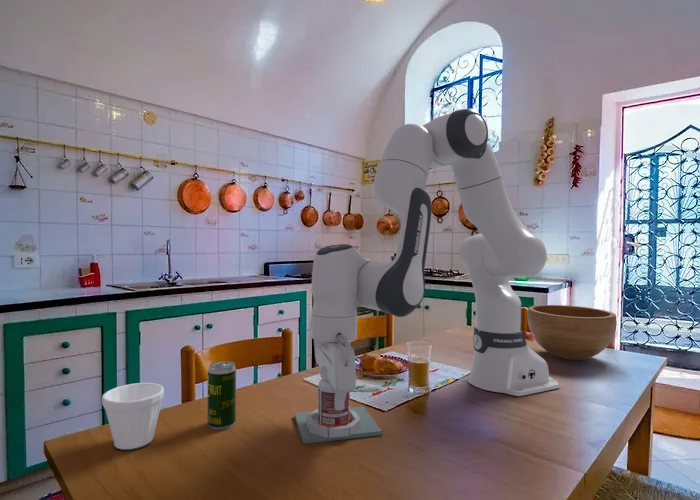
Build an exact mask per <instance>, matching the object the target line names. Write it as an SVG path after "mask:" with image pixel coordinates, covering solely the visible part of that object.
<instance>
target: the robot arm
mask: <svg viewBox="0 0 700 500" xmlns="http://www.w3.org/2000/svg"><path fill="white" fill-rule="evenodd" d="M488 139H489V128H488V124H487V121H486V119H485V118H484V117H483V115H481V114H480V113H479V112H478V111H477V110H475V109H473V108H461V109H458V110H454V111H453V112H451V113H447V114H443V115H440V116H438V117H436V118H433V119H432V120H431V121H428V122H427V123H425V124H423V125H419V124H415V123H407V124H402V125H400V126H399V127H397V128H396V129H395V131H393V134H392V135H391V137H390V139H389V141H388V143H387V145H386V146H385V148H384V151H383V153H382V156H381V158H380V161H379V164H378V166H377V170H376V173H375V176H374V181H373V192H374V194H375V196H376V198H377V200H378V201H379V202H380V203H381V204H382V205H383V206H384V207H385V208H387V209H388V210H390V211H392V212H393V213H395V214H397V215H399V216H400V218H401V226H400V232H399V238H398V243H397V244H398V245H397V251H396V255H395V258H394V259H393V260H391V261H390V262H385V261H384V262H381V261H375V260H374V261H373V260H371V259H369V258H367V257H365V256H363V255H362V254H360V253H359V252H358V251H357V250H356V249H355V246H354V245H350V244H348V243H347V244H346V243H343V244H341V243H339V244H332V245H331V244H330V245H326V246H323V247H320V249H318V250H317V252H316V253H315V254H314V255H315V256H314V257H313V258H314V259H313V264H312V273H311V294H312V297H313V298H312V299H313V305H312V309H311V312H310V313H311V317H310V319H311V320H310V332H311V333H310V337H311V339H312V340H313V346H314V357H315V361H316V363H317V365H318V366H319V368H320V369H321V367H322V366H323V367H324V369H325V370H326V377H327V379H328V381H329V382H330V384H331V385H332V387H333V388H334V392H335V396H334V398H333V406H334V408H335V410H343V409H344V407H345V398H346V395H347V392H350V393H351V392H354V391H355V389H356V384H357V378H356V377H357V373H356V371H357V369H356V355H355V354H356V353H355V350H354V348H353V347H352V346H351V341H354V340H356V339H357V337H358V332H357V331H358V328H357V327H358V309H357V308H358V307H362V308H367V309H368V310H375V311H379V312H383V313H386V314H389V315H390V316H391V315H392V316H395V317H398V318H402V317H406V316H408V315H410V314H411V313H414V311H415V310H416V309H417V308H418V307H419V306H420V305H421V303H422V301H423V299H424V297H425V290H426V279H425V271H426V269H425V267H426V260H427V252H428V245H429V236H430V231H431V229H430V228H431V222H432V220H431V219H432V208H433V207H432V201H431V197H430V195H429V194H428V192H426V186H427V185H426V184H427V181H428V177H429V174H430V170H432V169H434V168H441V167H444V166H450V167H451V169H452V170H453V176H454V181H455V185H456V188H457V189H456V190H457V192H458V196H459V199H460V202H461V203H460V204H461V206H462V211H463V213H464V216H465V218H466V220H468V222H470V223H471V224H473V225H474V226H475V228H477V230H478V231H479V232H480V233H478V234H475V235H471V236H468V237H467V238H464V240H462V242H461V244H460V246H459V250H458V257H459V261H460V263H461V264H462V266H463V267H464V268H465V269H466V271H467V273H468V275H469V279H470V281H471V284H472V288H473V294H474V298H475V327H473V337H472V338H473V339H472V341H473V342H472V343H473V358H472V362H471V368H470V372H469V376H468V378H467V381H468V383H469V384H471V385H472V386H474V387H476V388H479V389H482V390H485V391H490V392H494V393H495V392H496V393H500V394H501V393H502V394H506V395H510V396H515V397H523V396H527V395H532V394H536V393H537V394H538V393H542V392H546V391H551V390H556V389H559V388H560V383H559V381H557V380H556V379H554V378H552V377H551V376H550V372H549V366H548V363H547V361H546V360H545V359H544V358H543V357H542V356H540V355H539V353H537V352H535V351H534V350H533V349H532V348H531V347H530V346H528V345H527V341H529V342H534V341H535V337H534V336H535V335H534V334H533V333H531V332H529V331H527V332H524V331H523V330H521V328H522V327H521V326H522V300H521V298H520V297H519V295H517V293H516V292H515V291H514V290H513V288H512V286H511V283H510V281H509V278H514V279H515V278H516V279H520V278H528V277H532V276H533V277H534V276H536V275H538V274H539V273H541V271H543V269H544V267H545V265H546V262H547V259H548V258H547V257H548V255H547V253H548V252H547V249H546V246H545V244H544V243H543V241H542V239H540V238H538V237H537V236H536V235H534V234H533V233H532V232H531V231H530V230H528V228H526V226H525V225H524V224H523V223H522V222H521V220H520V218H519V217H518V215H517V214H516V212H515V210H514V209H513V206H512V203H511V201H510V199H509V195H508V192H507V189H506V186H505V182H504V178H503V174H502V171H501V168H500V165H499V162H498V159H497V157H496V154H495V152H494V150H493V148H492V146H491V144H490V143H489V142H488Z"/></svg>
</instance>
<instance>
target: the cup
mask: <svg viewBox="0 0 700 500" xmlns="http://www.w3.org/2000/svg"><path fill="white" fill-rule="evenodd" d="M164 389H165V388H164V386H163V385H161V384H158V383H154V382H136V383H129V384H125V385H120V386H116V387H114V388H112V389H109V390H107V391H106V392H105V393H103V394H102V397H101V404H102V406H103V409H104V410H105V413H106V417H107V420H108V424H109V429H110V432H111V436H112V441H113V445H114V448H115V449H117V450H118V449H120V451H123V450H125V451H134V450H133V449H135V450H139V449H142V448H144V447H147V446H148V445H150V444H151V442H152V441H153V440H154V436H155V431H156V429H157V423H158V419H159V415H160V411H161V406H162V403H163V399H164V397H165V390H164Z"/></svg>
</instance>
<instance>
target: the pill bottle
mask: <svg viewBox="0 0 700 500" xmlns="http://www.w3.org/2000/svg"><path fill="white" fill-rule="evenodd" d="M320 378H321V379H320V380H319V381H318V386H317V409H318V424H319V425H322V426H326V427H338V426H347V425H348V424H349V420H350V408H351V406H350V404H351V402H350V398H351V397H350V396H351V392H347V395H346V398H345V407H344V409H343V410H335V408H334V406H333V398H334V396H335V392H334V388H333V387H332V385H331V384H330V382H329V381H328V379H327V377H326V370H325V369H324V367H323V366H322V367H321V368H320Z"/></svg>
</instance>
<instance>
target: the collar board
mask: <svg viewBox="0 0 700 500" xmlns="http://www.w3.org/2000/svg"><path fill="white" fill-rule="evenodd" d="M294 419H295V422H296V425H297V429H298V432H299V434H300V438H301V440H302V443H303V445H307V444H314V443H323V442H333V441H341V440H349V439H359V438H366V437H367V438H369V437H376V436H382V435H383V430H382V429H381V427H380V426H379V424H377V422H376V421H375V420H374V418H373V417H372V415H371V414H370V413H369V412H368V410H367V408H365V406H357V407H356V406H355V407H354V406H353V407H350V420H349V424H348V425H347V426H338V427H326V426H322V425H319V424H318V408H316V409H315V410H311V411H303V412H294Z"/></svg>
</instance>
